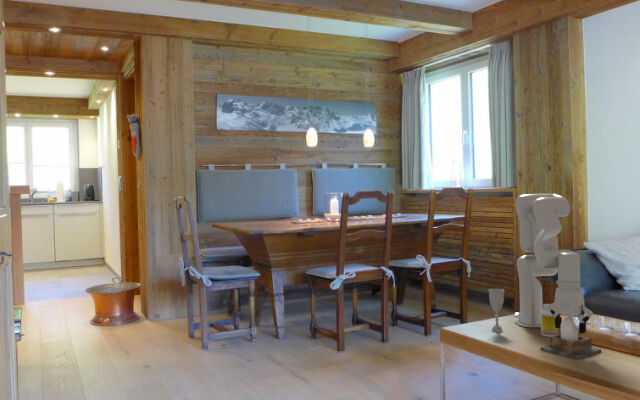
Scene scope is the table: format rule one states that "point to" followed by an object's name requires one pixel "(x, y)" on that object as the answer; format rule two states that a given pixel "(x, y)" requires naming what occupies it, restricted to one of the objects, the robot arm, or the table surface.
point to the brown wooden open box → (571, 347)
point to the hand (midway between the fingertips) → (570, 330)
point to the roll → (569, 330)
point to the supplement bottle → (548, 322)
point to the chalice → (496, 305)
